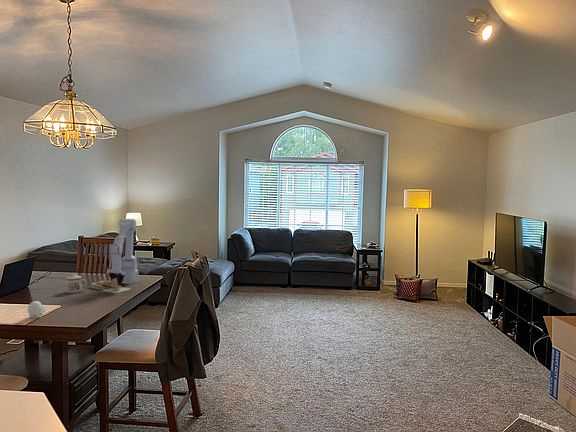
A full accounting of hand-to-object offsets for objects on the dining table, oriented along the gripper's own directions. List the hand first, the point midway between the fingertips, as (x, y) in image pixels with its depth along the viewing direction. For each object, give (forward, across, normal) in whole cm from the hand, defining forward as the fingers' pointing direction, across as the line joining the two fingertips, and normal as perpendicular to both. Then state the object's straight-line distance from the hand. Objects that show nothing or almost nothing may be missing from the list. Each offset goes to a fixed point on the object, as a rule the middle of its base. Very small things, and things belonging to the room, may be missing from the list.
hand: (116, 284), depth 294 cm
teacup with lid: (+4, -18, -16) cm, 25 cm away
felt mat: (+3, 0, 0) cm, 3 cm away
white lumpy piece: (+4, +12, -58) cm, 59 cm away
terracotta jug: (+2, 0, 0) cm, 2 cm away
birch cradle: (+3, -15, 0) cm, 15 cm away
